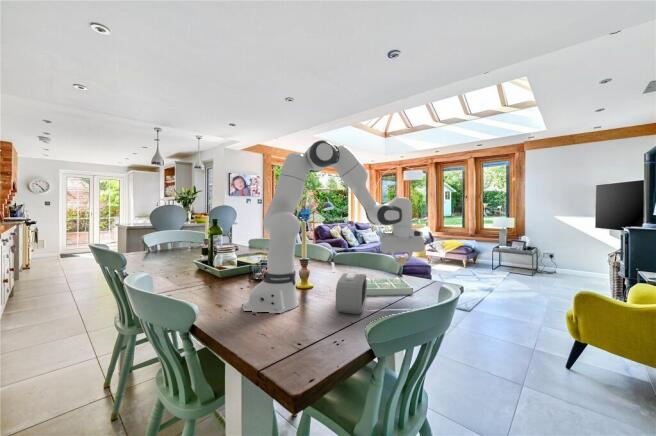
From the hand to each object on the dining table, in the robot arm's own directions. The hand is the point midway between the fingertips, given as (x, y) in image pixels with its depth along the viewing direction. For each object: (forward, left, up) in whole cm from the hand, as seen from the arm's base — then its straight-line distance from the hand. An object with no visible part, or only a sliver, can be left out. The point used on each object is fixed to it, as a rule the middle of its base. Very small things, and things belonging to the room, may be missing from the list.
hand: (401, 261), depth 128 cm
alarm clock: (-26, -16, -15) cm, 34 cm away
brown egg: (0, 0, -2) cm, 2 cm away
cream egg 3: (0, +7, -14) cm, 16 cm away
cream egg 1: (-15, +7, -14) cm, 22 cm away
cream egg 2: (-8, 0, -14) cm, 16 cm away
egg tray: (-8, +4, -15) cm, 17 cm away
